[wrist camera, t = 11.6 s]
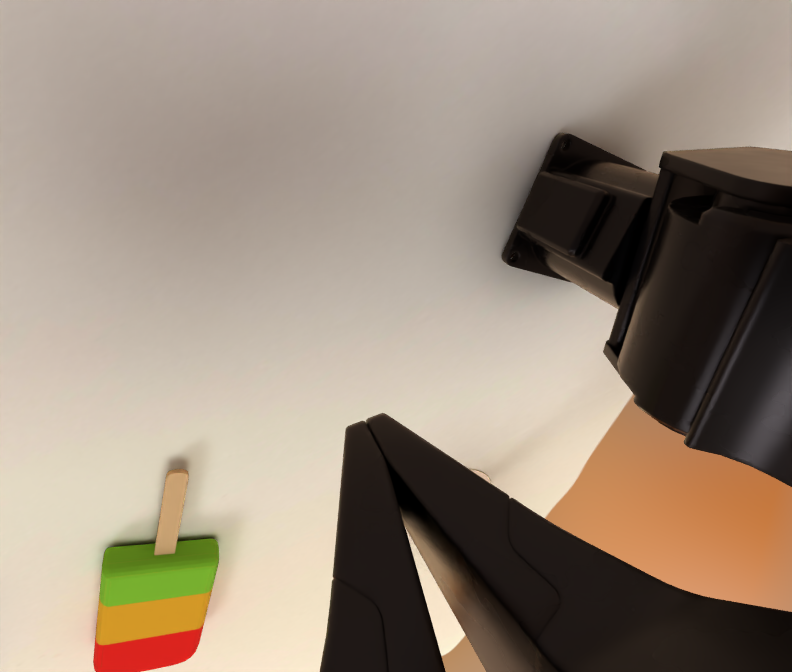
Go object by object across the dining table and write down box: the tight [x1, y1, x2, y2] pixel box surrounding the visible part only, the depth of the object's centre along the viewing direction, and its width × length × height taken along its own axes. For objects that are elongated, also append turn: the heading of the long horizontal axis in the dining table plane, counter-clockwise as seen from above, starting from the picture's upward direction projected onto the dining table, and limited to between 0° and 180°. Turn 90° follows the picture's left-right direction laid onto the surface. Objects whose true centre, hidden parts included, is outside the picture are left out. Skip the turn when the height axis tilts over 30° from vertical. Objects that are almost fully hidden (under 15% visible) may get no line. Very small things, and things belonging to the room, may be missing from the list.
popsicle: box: [93, 469, 219, 672], centre depth 25 cm, size 6×15×2 cm, turn 160°
